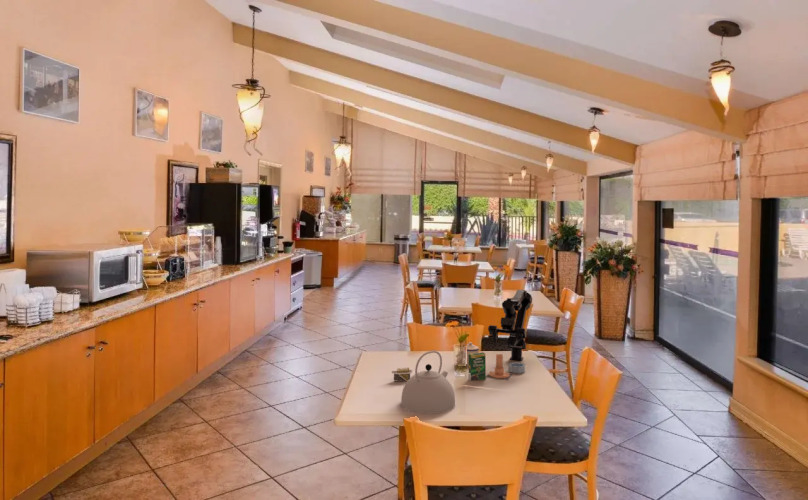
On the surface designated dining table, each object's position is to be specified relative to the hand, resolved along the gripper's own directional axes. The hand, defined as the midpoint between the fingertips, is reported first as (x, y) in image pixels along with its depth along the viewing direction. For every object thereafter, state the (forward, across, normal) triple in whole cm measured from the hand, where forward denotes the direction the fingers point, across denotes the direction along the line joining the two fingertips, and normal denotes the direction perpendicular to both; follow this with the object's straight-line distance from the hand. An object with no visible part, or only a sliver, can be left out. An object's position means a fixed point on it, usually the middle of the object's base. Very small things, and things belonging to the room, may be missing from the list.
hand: (503, 345), depth 287 cm
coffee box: (+23, -8, -3) cm, 25 cm away
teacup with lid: (+5, -21, +15) cm, 26 cm away
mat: (+15, 0, +4) cm, 16 cm away
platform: (+35, -40, -15) cm, 55 cm away
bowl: (+8, +6, +12) cm, 15 cm away
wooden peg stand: (+15, 0, +3) cm, 15 cm away
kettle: (+51, -17, -31) cm, 62 cm away
